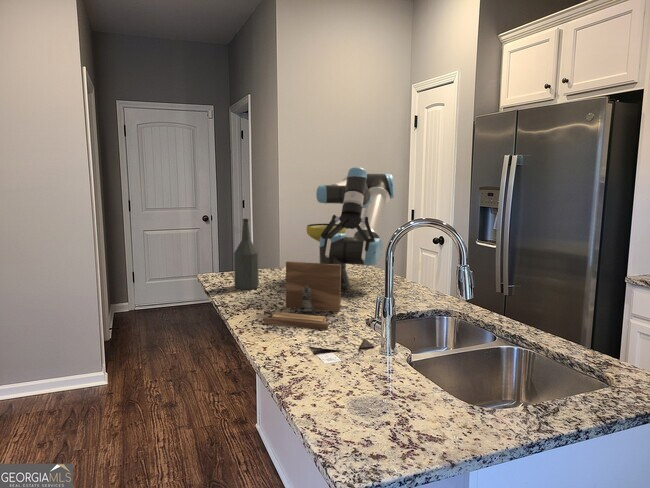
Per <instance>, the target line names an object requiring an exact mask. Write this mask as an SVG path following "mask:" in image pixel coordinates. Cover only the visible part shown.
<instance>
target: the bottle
mask: <svg viewBox="0 0 650 488" xmlns="http://www.w3.org/2000/svg"><path fill="white" fill-rule="evenodd" d="M249 221H250V220H249V218H243V219H242V230H241V231H242V233H241V240H240V242H239V244H238V246H237V247H236V249H235V251H234V253H233V258H234V260H233V263H234V265H233V266H234V270H233V271H234V287H235V289H236V290H240V291H251V290H252V291H253V290H255V289H258V287H259V286H260V285H259V283H260V277H259V275H260V274H259V251H258V250H257V247H256V246H255V245H254V243H253V242H252V240H251V233H250V224H249Z"/></svg>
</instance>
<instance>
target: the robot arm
mask: <svg viewBox="0 0 650 488" xmlns="http://www.w3.org/2000/svg"><path fill="white" fill-rule="evenodd" d="M347 172H348V173H347V176H346V177H345V178H343V179H342V180H341V181H339V182H336V183H333V184H320V185H318V186H317V189H316V192H315V193H316V196H315V197H316V201H317V202H318V203H320V204H342V208H341V215H340V216H338V215H336V214H333V215H332V217H331V220H330V221H329V222H328V223H327V224H328V225H327V227H326V228H325V230H324V231H323V232H322V234H321V238H320V242H319V246H318V247H319V263H321V264H337V265H341V290H346V289H349V288H350V286H351V284H350V283H351V282H350V277H349V275H348V272H347V271H348V270H347V265H355V266H356V265H358V266H365V267H366V266H367V267H368V266H376V265H378V264H379V262H380V261H381V259H382V255H383V248H384V246H383V245H384V244H383V240H382V239H381V236H380V235H379V232H380V229H381V228H380V227H381V223H382V218H383V216H384V210H385V206H386V205H387V204H388V203H389V201H390V200H392V199H394V197H395V180H394V176H393V175H392V174H391V173H368V171H367V170H366V169H364V168H363V167H359V166H356V167H355V166H353V167H351V168H349V170H348V171H347ZM363 209H364V210H363ZM362 212H363V214H362ZM338 221H339V223H338ZM335 224H338V225H337V226H336V227H335V228H334V229H333V230H332V231H331V229H332V228H333V226H334V225H335ZM343 228H345V230H348V229H350V230H354V229H356V231H355V233H354V235H353V237H352V236H351V237H350V236H348V235H347V233H346V232H345V233H338V232H339V231H340V230H342V229H343ZM330 231H331V232H330ZM329 232H330V233H329Z"/></svg>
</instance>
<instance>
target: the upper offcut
mask: <svg viewBox="0 0 650 488" xmlns="http://www.w3.org/2000/svg"><path fill="white" fill-rule="evenodd" d="M271 318H282V319H292V320H303V321H313V322H323V323H327V322H326V320H327V319H326V318H327V317H326V316H322V315H314V314H313V315H302V314H300V313H290V312H280V311H276V313H274V314H273V315H272V316H271Z"/></svg>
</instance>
